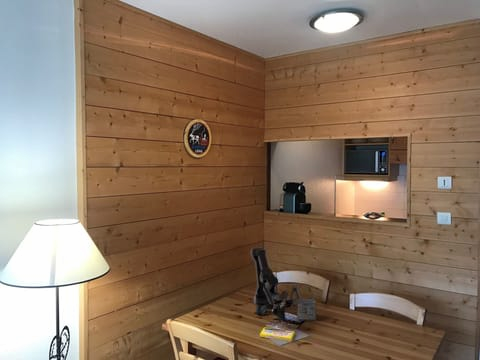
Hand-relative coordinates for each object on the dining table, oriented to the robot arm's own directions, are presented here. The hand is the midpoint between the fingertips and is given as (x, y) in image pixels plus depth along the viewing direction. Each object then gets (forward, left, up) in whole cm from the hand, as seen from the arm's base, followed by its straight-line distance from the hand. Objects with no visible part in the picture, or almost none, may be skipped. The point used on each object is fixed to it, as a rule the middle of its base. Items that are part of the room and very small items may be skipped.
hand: (284, 321), depth 195 cm
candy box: (-3, -1, -6) cm, 6 cm away
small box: (-10, +24, -7) cm, 27 cm away
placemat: (+3, 0, -7) cm, 8 cm away
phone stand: (-32, +35, -7) cm, 48 cm away
